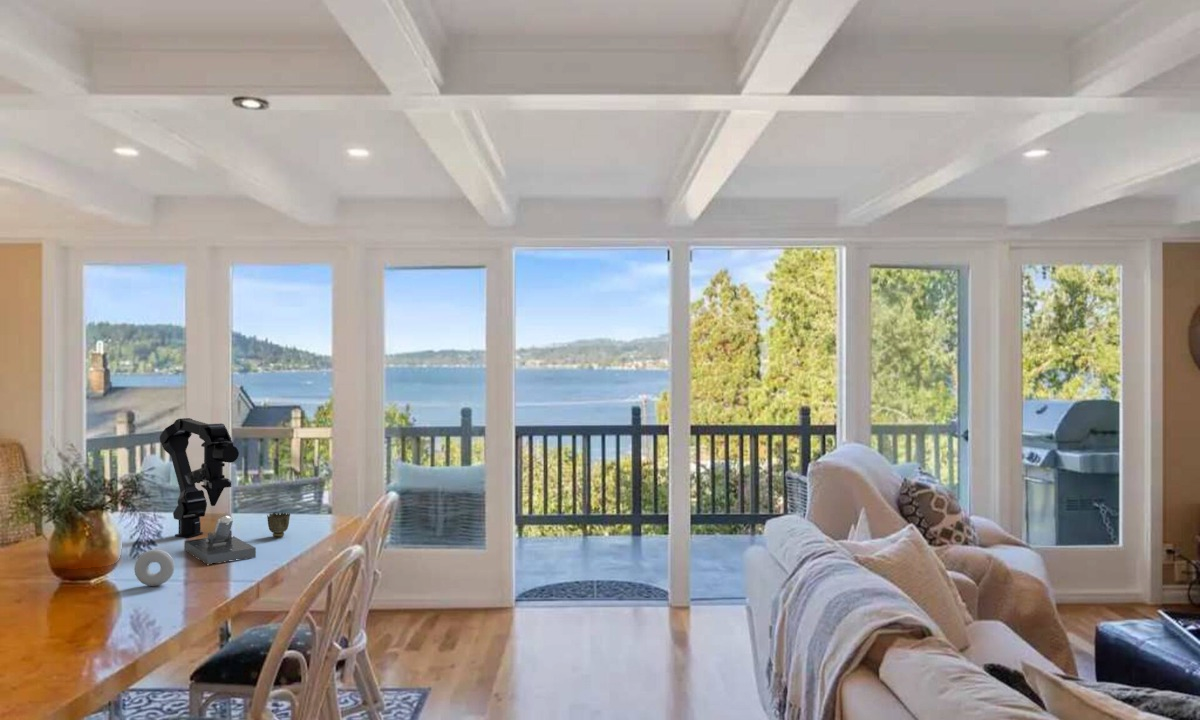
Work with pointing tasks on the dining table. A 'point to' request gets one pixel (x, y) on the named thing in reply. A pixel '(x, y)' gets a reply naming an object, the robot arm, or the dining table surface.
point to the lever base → (219, 549)
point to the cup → (278, 523)
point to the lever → (222, 529)
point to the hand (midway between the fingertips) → (213, 505)
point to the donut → (151, 578)
